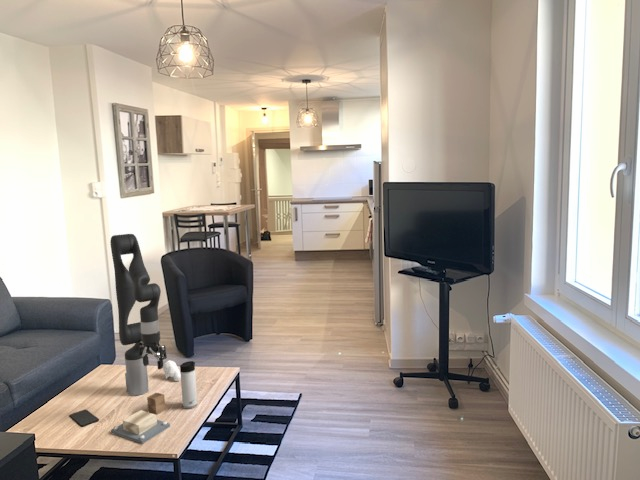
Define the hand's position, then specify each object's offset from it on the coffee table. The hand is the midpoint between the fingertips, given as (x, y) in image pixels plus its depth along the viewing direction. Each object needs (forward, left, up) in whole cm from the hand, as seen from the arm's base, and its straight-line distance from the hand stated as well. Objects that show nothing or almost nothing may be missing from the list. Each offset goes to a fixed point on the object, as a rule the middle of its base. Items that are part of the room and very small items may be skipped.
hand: (153, 366), depth 205 cm
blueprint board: (+6, -14, -20) cm, 25 cm away
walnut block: (0, 0, -20) cm, 20 cm away
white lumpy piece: (-18, +28, -20) cm, 39 cm away
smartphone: (-24, -18, -21) cm, 36 cm away
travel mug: (+10, +10, -20) cm, 25 cm away
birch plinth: (+6, -14, -19) cm, 24 cm away
